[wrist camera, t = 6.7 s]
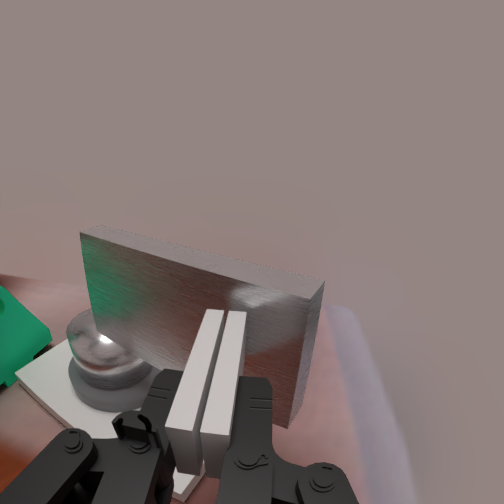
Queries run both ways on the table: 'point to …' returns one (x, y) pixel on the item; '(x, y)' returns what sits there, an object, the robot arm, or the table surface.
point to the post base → (73, 410)
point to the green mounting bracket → (18, 337)
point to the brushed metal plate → (189, 313)
